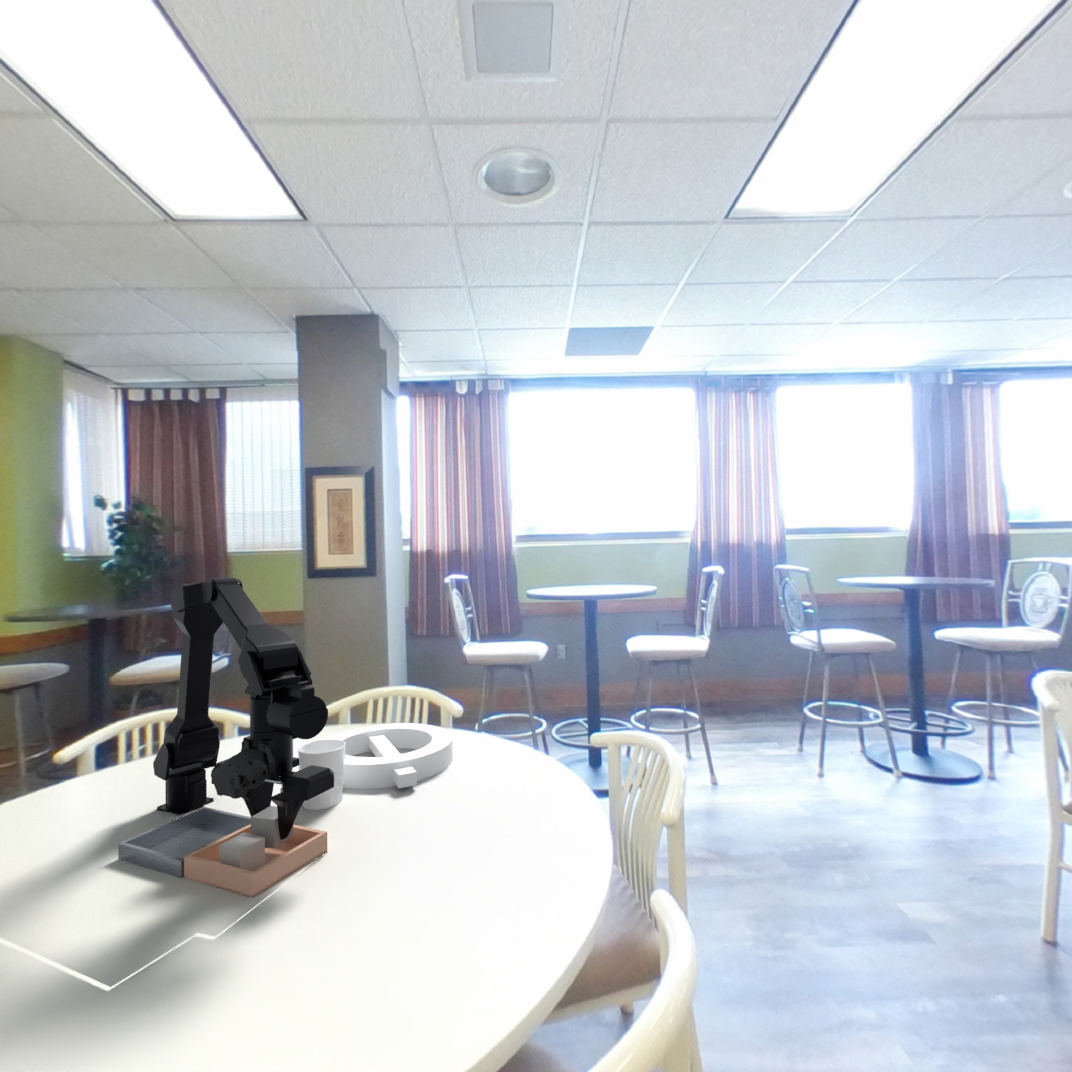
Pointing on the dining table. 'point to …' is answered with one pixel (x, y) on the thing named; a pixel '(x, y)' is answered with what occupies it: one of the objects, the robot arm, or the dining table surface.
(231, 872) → the dish
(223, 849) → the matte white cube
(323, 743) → the white cup
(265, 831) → the grey cube
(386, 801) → the dining table surface
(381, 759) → the ring with crossbar
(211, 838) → the bin
